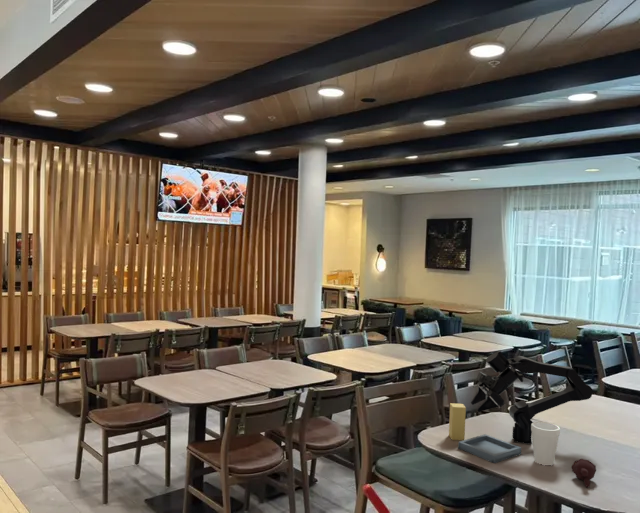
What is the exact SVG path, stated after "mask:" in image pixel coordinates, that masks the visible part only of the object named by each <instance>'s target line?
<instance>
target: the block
mask: <svg viewBox="0 0 640 513" xmlns="http://www.w3.org/2000/svg"><path fill="white" fill-rule="evenodd" d="M466 412H467V407H466V406H465V404H464V403H457V402H456V403H451V402H450V403H449V425H448V427H449V428H448V436H449V438H450V439H452V440H451V441H463V440H466V439H465V438H466V437H465V436H466V435H465V433H466V414H467V413H466Z"/></svg>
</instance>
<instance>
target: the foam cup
mask: <svg viewBox="0 0 640 513" xmlns="http://www.w3.org/2000/svg"><path fill="white" fill-rule="evenodd" d="M532 422H533V421H532ZM531 431H532V436H531V441H532V450H533V458H534V460H535V461H534V462H535V463H536V462H537V463H536V464H538V463H539V464H538V465H540V464H542V465H541V466H545V465H551V466H554V463H555V458H556V454H557V449H558V443H559V438H560V435H561V428H560V426H558V425H557V424H554V423H551V422H547V421H534V422H533V423H532V424H531Z"/></svg>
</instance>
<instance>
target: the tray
mask: <svg viewBox="0 0 640 513" xmlns="http://www.w3.org/2000/svg"><path fill="white" fill-rule="evenodd" d="M457 446H458V447H457V448H458V450H461V451H463V450H464V452H466V453H468V452H469V454H471V455H472V456H473V455H474V456H475V455H476V456H475V457H478V458H479V459H482V460H485V461H488V462H490V463H493V464H496V463H499V462H501V461H502V460H503V461H505V460H507V459H512V458H513V457H517V456H519V454H520V455H522V447H521V446H519V445H516V444H514V443H511V442H509V441H505V440H502V439H500V438H496V437H495V436H492V435H489V434H486V433H485V434H480V435H477V436H474V437H470V438H467V439H464V440H458V445H457ZM516 455H517V456H516ZM503 461H502V462H503Z"/></svg>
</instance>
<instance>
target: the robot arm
mask: <svg viewBox="0 0 640 513" xmlns="http://www.w3.org/2000/svg"><path fill="white" fill-rule="evenodd" d="M485 362H486V363H487V364H488V365H489V367H490V368H491V369H492V370H493V371H494V372H495V373H499V374H497V376H496V375H493V376H492V375H489V373H488V374H486V373H483V372H482V371H479V373H478V374H477V376H476V377H475V379H476V380H477V381H478V382H477V383H476V384H477V385H476V387H477V390H476V393H475V395H474V396H473V398H472V399H471V402H470V404H471V405H472V406H474V405H476V404H478V403H480V402H482V403H481V404H480V405H479V406H478V408H477V409H476V411H478V413H480V412H485V411H487V410H491V409H495V408H499V407H500V408H502V407H503V406H504V405H505V400H504V399H503V398H502V396H501V394H503V393H504V392H505V391H506V392H508V391H509V387H510V386H512V385H513V384H514V383H515V382H516V381H517V380H518V381H520V383H523V382H524V378H523V377H524V375H523V374H536V373H540V374H546V375H552V376H558V377H562V378H565V379H566V382H568V384H569V385H567V386H566V387H565V388H564V389H563V390H560V391H559V392H556V393H555V392H554V393H553V394H550V395H548V396H545V397H542V398H539V399H537V400H534V401H532V402H526V401H525V400H524V399H521V400H520V401H517V402H513V403H512V405H511V406H510V407H509V409H508V414H509V416H510V417H511V418H512V419H513V422H514V426H512V439H513V442H514V443H521V444H527V445H528V444H529V445H533V440H532V431H531V424H532V423H533V421H532V419H533V418H535V416H536V415H537V414H539V413H543V412H546V411H548V410H550V409H553V408H556V407H559V406H561V405H564V404H566V403H569V402H581V401H587V400H590V399H591V398H592V396H593V394H594V393H593V389H592V387H591V386H590V385H589V384H587V383H586V382H585V381H584V380H583V379H582V377H580V375H579V374H578V373H577V371H576V370H575V369H574V368H572V367H571V366H565V365H564V366H563V365H559V364H553V363H552V364H551V363H546V362H541V361H536V360H534V359H531V358H529V357H526V356H522V355H517V356H516V357H514V358H506V357H505V356H504V354H503V353H502V351H500V350H498V351H496V352H494V353H492V354H490V355H489V356H487V358H486V360H485ZM510 367H511V368H512V369H511V368H510ZM517 371H518V372H517ZM521 373H522V374H521Z"/></svg>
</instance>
